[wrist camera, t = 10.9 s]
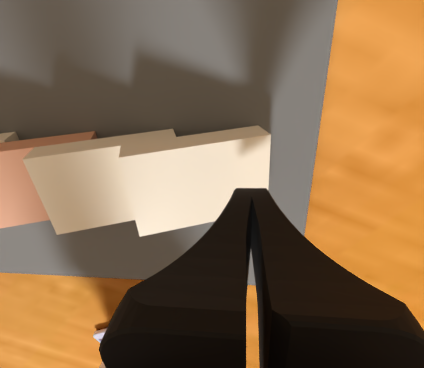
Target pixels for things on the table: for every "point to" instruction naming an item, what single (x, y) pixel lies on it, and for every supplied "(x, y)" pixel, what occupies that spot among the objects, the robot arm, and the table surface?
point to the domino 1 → (25, 180)
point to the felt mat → (160, 102)
